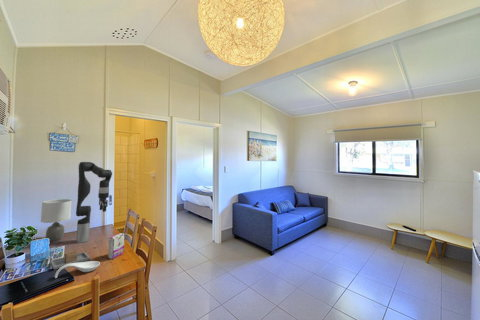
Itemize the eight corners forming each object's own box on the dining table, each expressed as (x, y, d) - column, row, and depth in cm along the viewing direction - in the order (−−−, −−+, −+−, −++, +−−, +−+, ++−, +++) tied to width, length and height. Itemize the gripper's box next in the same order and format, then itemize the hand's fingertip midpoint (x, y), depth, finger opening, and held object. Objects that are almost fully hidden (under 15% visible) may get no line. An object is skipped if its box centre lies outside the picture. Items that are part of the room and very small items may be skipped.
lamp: (73, 234, 197) (75, 198, 198) (62, 242, 178) (65, 202, 179) (47, 236, 190) (49, 199, 191) (33, 244, 170) (36, 203, 172)
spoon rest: (98, 264, 143) (99, 254, 144) (100, 270, 135) (101, 260, 135) (54, 275, 128) (55, 264, 128) (53, 283, 119) (54, 271, 119)
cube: (64, 261, 144) (64, 253, 144) (74, 258, 148) (75, 250, 148) (66, 263, 140) (66, 255, 140) (76, 260, 145) (77, 252, 145)
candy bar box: (119, 252, 162) (120, 232, 163) (124, 253, 161) (125, 233, 162) (107, 258, 151) (108, 237, 152) (112, 259, 150) (114, 238, 151)
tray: (50, 263, 140) (50, 260, 141) (84, 254, 156) (84, 251, 156) (53, 271, 132) (54, 267, 132) (89, 260, 147) (89, 257, 148)
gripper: (96, 191, 171) (95, 210, 171) (101, 193, 162) (100, 212, 162) (106, 191, 177) (104, 208, 176) (111, 192, 168) (110, 211, 168)
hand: (102, 210), depth 169 cm, fingers open, 8 cm apart
